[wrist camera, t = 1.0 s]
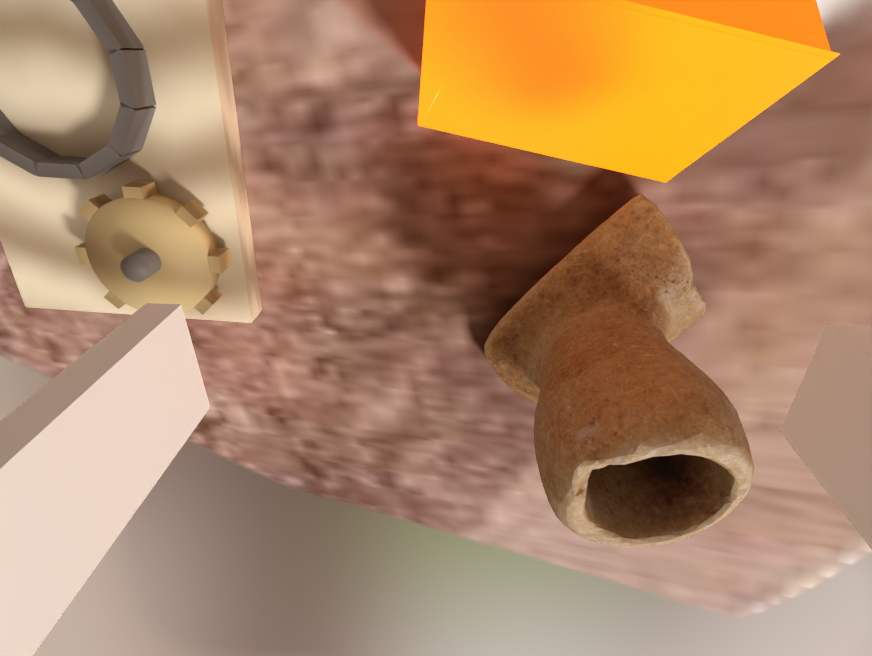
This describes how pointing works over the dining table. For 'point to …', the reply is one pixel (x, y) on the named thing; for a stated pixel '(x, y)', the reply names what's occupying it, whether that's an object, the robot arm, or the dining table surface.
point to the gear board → (84, 124)
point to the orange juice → (613, 74)
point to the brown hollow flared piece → (623, 389)
